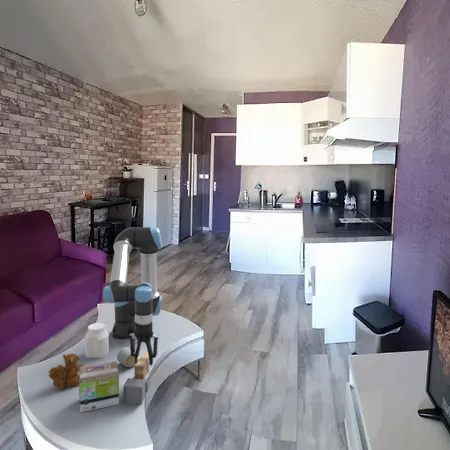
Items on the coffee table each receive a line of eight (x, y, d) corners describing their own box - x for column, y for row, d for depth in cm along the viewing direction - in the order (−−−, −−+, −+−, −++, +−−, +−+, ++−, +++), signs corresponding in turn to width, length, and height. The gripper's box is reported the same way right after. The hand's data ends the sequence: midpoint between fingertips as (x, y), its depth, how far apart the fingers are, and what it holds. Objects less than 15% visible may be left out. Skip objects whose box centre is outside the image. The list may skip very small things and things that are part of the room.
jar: (82, 357, 178) (81, 330, 176) (90, 348, 187) (89, 321, 185) (104, 358, 178) (104, 331, 175) (111, 349, 187) (110, 322, 185)
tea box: (80, 414, 138) (78, 379, 135) (79, 398, 147) (78, 366, 144) (119, 405, 144) (119, 371, 141) (116, 390, 153) (116, 359, 150)
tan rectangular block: (144, 364, 164) (144, 352, 163) (152, 365, 164) (152, 353, 163) (134, 379, 152) (134, 366, 152) (143, 380, 152) (143, 367, 151)
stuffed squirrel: (88, 381, 158) (87, 354, 156) (57, 396, 148) (55, 367, 146) (77, 373, 165) (76, 347, 163) (46, 386, 154) (44, 359, 152)
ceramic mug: (126, 370, 168) (126, 355, 167) (116, 364, 173) (116, 349, 172) (144, 362, 176) (144, 348, 175) (134, 356, 181) (134, 342, 180)
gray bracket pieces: (133, 385, 157) (133, 368, 155) (150, 386, 156) (150, 370, 155) (123, 402, 145) (123, 385, 144) (141, 404, 144) (141, 386, 143)
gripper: (121, 324, 152) (122, 373, 155) (160, 326, 150) (160, 376, 154) (128, 317, 159) (128, 364, 163) (164, 319, 158) (164, 367, 161)
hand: (144, 370), depth 158 cm, fingers closed on tan rectangular block, 4 cm apart
